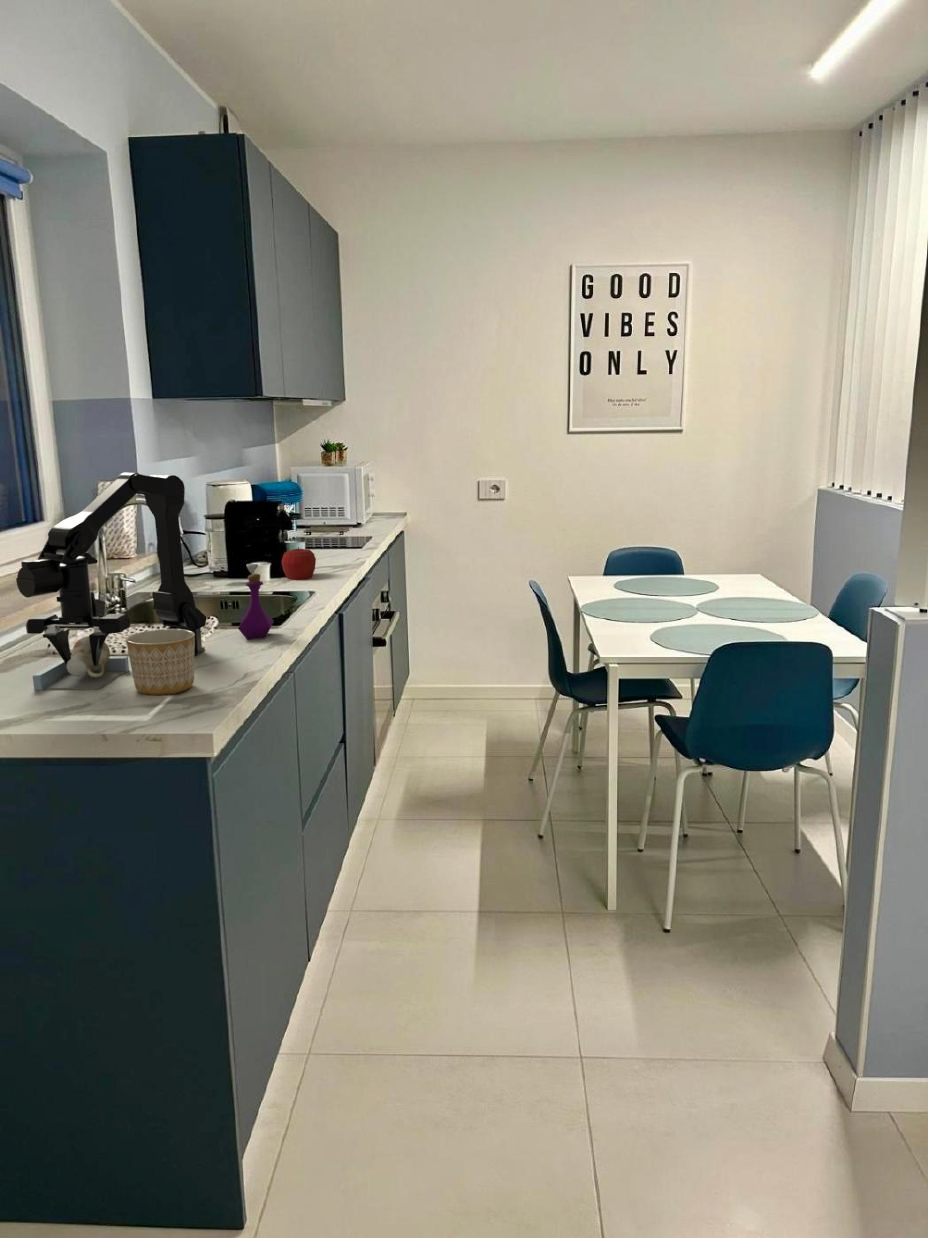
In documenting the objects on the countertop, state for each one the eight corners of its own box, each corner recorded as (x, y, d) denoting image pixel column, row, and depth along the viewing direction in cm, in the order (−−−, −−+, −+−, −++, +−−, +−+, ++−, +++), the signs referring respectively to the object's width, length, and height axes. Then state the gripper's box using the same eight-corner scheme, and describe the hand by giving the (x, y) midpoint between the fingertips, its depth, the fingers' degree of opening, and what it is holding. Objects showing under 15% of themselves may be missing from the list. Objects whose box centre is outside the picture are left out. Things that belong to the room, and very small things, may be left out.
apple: (284, 580, 301) (282, 544, 298) (317, 579, 302) (315, 543, 299) (281, 586, 290) (279, 549, 287) (316, 585, 291) (314, 548, 289)
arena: (129, 670, 196) (127, 656, 195) (99, 690, 182) (98, 675, 181) (68, 670, 196) (66, 656, 196) (34, 690, 182) (32, 675, 182)
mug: (55, 679, 184) (56, 632, 187) (84, 691, 193) (84, 646, 196) (90, 672, 182) (90, 624, 186) (117, 684, 191) (117, 638, 195)
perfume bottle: (243, 634, 227) (238, 561, 223) (274, 633, 227) (270, 560, 223) (238, 642, 219) (233, 566, 216) (271, 640, 220) (266, 565, 216)
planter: (125, 685, 185) (120, 633, 183) (190, 675, 191) (186, 626, 189) (137, 701, 174) (132, 647, 172) (205, 691, 180) (201, 638, 178)
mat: (123, 672, 194) (123, 671, 194) (98, 689, 182) (98, 688, 182) (74, 672, 195) (73, 671, 194) (45, 689, 183) (45, 688, 183)
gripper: (137, 581, 191) (143, 655, 194) (47, 582, 192) (56, 655, 195) (114, 591, 180) (122, 669, 183) (20, 592, 181) (29, 669, 184)
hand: (82, 665), depth 187 cm, fingers closed on mug, 5 cm apart
